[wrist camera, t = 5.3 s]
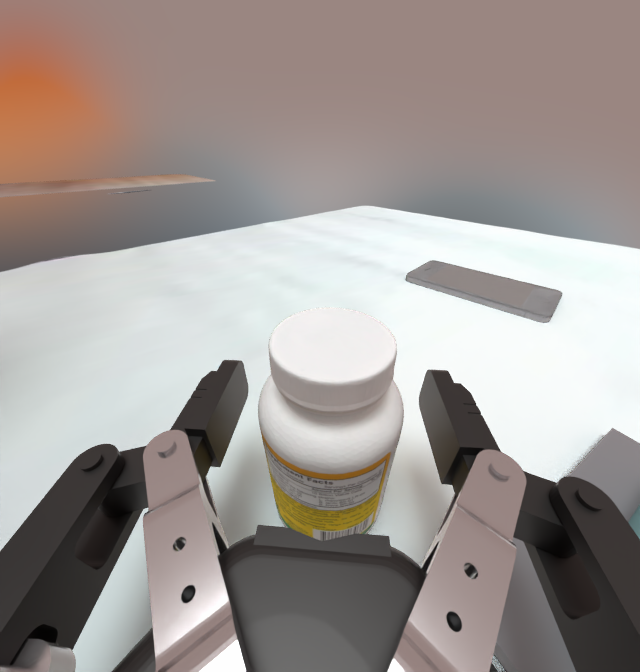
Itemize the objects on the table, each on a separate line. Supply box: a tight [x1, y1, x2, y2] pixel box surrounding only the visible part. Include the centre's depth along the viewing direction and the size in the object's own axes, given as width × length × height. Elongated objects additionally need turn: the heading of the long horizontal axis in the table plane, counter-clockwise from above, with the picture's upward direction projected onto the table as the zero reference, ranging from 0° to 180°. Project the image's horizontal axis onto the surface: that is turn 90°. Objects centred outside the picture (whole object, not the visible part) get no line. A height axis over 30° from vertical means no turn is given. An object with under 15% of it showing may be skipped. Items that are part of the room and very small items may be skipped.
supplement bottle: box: [258, 308, 404, 541], centre depth 11 cm, size 5×5×10 cm
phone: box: [406, 261, 562, 323], centre depth 33 cm, size 8×16×1 cm, turn 46°
